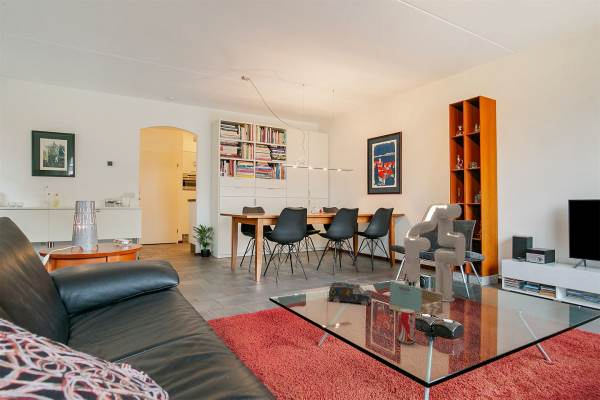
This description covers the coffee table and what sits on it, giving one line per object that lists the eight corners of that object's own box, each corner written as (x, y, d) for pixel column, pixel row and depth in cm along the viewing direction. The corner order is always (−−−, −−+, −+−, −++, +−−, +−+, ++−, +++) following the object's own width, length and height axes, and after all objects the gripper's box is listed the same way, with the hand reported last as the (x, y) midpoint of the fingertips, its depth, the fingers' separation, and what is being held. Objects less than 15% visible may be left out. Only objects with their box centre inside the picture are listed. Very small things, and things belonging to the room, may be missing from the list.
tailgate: (390, 302, 184) (391, 281, 184) (421, 311, 169) (421, 288, 169) (388, 303, 183) (389, 281, 183) (419, 312, 168) (419, 288, 168)
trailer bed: (410, 303, 196) (410, 286, 196) (442, 312, 180) (442, 293, 180) (389, 308, 184) (389, 290, 184) (421, 318, 168) (421, 299, 168)
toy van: (370, 306, 188) (370, 288, 188) (327, 302, 194) (328, 285, 195) (371, 301, 198) (371, 284, 199) (330, 297, 205) (331, 281, 205)
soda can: (394, 337, 142) (395, 307, 142) (410, 337, 143) (411, 307, 143) (401, 344, 135) (401, 312, 135) (418, 344, 136) (418, 312, 136)
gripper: (414, 258, 188) (413, 291, 187) (397, 260, 179) (397, 294, 178) (425, 260, 182) (425, 294, 181) (409, 262, 173) (409, 297, 172)
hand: (411, 294), depth 180 cm, fingers closed
